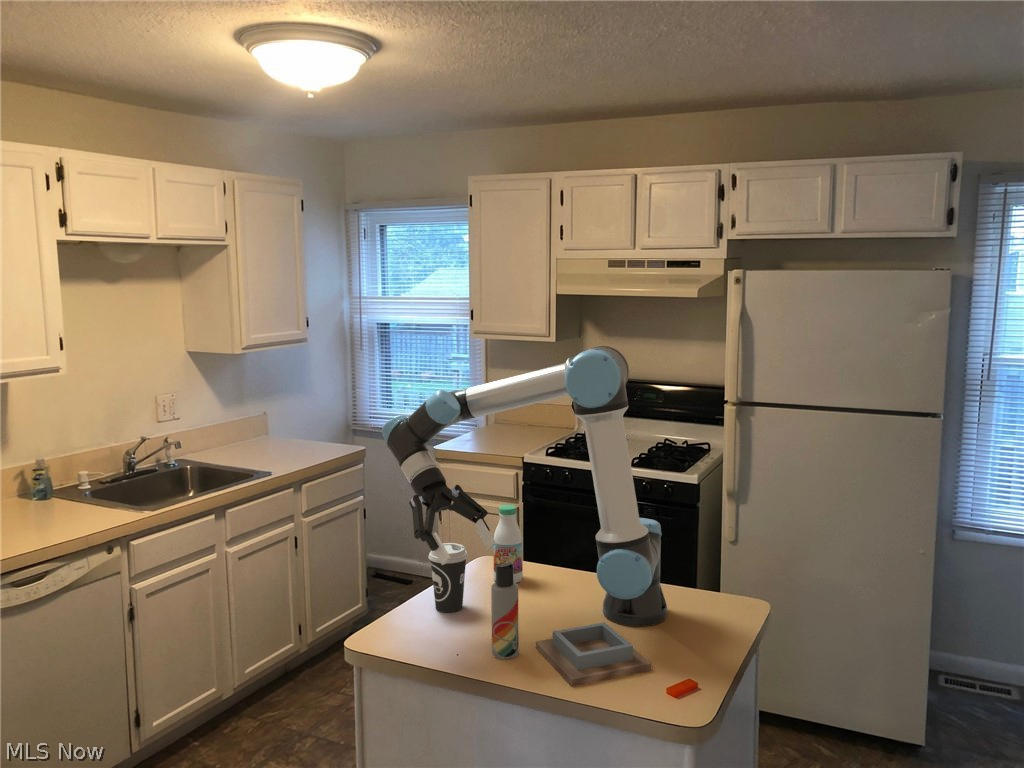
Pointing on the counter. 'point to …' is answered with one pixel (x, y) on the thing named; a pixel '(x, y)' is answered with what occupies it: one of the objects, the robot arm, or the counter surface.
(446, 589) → the coffee cup
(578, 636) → the bottle collar
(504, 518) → the milk bottle
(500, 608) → the lotion bottle
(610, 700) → the counter surface
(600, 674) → the stand board
